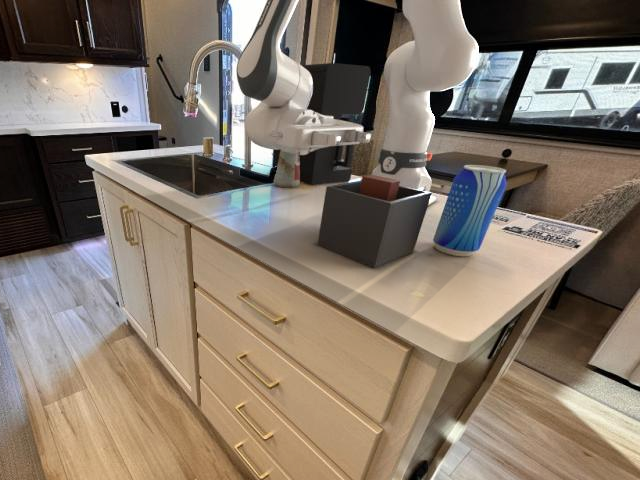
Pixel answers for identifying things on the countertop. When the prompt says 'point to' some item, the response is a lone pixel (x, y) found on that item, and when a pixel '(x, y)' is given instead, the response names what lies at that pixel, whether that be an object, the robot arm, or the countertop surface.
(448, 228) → the beer can
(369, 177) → the packet
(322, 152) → the coffee maker
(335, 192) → the bin
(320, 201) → the countertop surface
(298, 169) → the bottle
